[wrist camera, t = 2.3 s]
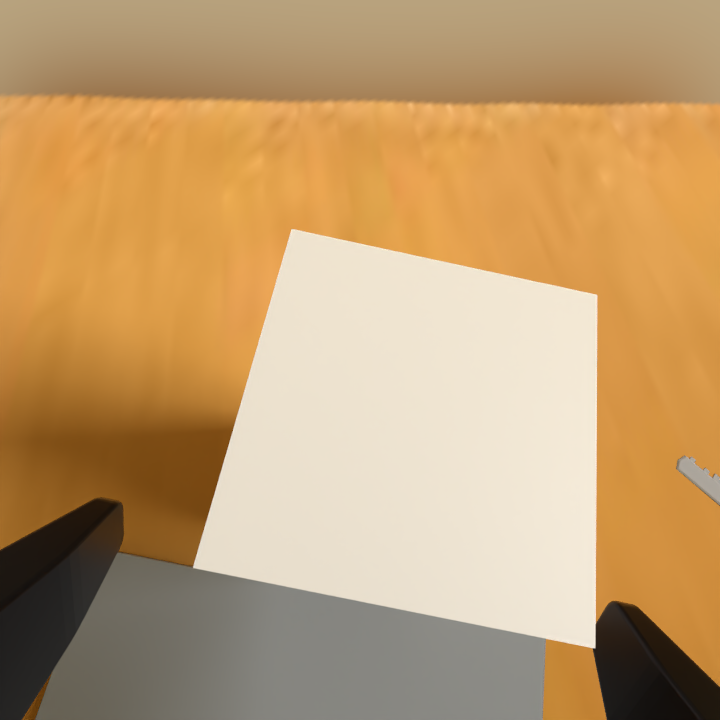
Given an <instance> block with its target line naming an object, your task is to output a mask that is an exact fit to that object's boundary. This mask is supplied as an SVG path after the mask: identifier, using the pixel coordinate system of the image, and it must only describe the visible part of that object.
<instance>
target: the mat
mask: <svg viewBox="0 0 720 720" xmlns="http://www.w3.org/2000/svg"><path fill="white" fill-rule="evenodd" d="M545 643H546V639H545V638H540V637H535V636H530V635H525V634H520V633H515V632H510V631H505V630H500V629H495V628H490V627H485V626H480V625H475V624H470V623H465V622H460V621H455V620H450V619H445V618H440V617H435V616H430V615H425V614H420V613H415V612H410V611H405V610H400V609H395V608H390V607H385V606H380V605H375V604H370V603H365V602H360V601H356V600H351V599H346V598H341V597H336V596H331V595H326V594H321V593H316V592H311V591H306V590H301V589H296V588H291V587H286V586H281V585H276V584H271V583H266V582H261V581H256V580H251V579H246V578H241V577H236V576H231V575H226V574H221V573H216V572H211V571H206V570H201V569H196V568H193V567H192V566H187V565H182V564H177V563H172V562H167V561H162V560H157V559H152V558H147V557H142V556H137V555H132V554H127V553H122V552H118V553H117V555H116V557H115V559H114V561H113V563H112V565H111V567H110V569H109V571H108V573H107V575H106V577H105V579H104V580H103V582H102V584H101V586H100V588H99V590H98V592H97V594H96V596H95V598H94V600H93V602H92V604H91V606H90V608H89V610H88V612H87V614H86V616H85V618H84V620H83V622H82V623H81V625H80V627H79V629H78V631H77V633H76V634H75V636H74V638H73V639H72V641H71V643H70V644H69V646H68V648H67V649H66V651H65V652H64V654H63V656H62V657H61V659H60V660H59V662H58V663H57V665H56V667H55V668H54V670H53V672H52V675H51V677H50V680H49V683H48V686H47V688H46V691H45V694H44V697H43V699H42V702H41V705H40V707H39V710H38V713H37V716H36V718H35V720H543V695H544V669H545Z"/></svg>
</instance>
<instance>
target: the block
mask: <svg viewBox="0 0 720 720" xmlns="http://www.w3.org/2000/svg"><path fill="white" fill-rule="evenodd" d="M596 442H597V295H595V294H591V293H586V292H581V291H577V290H572V289H567V288H563V287H558V286H554V285H549V284H544V283H540V282H535V281H530V280H526V279H521V278H517V277H512V276H507V275H503V274H498V273H493V272H489V271H484V270H480V269H475V268H470V267H466V266H461V265H456V264H452V263H447V262H442V261H438V260H433V259H429V258H424V257H419V256H415V255H410V254H405V253H401V252H396V251H392V250H387V249H382V248H378V247H373V246H368V245H364V244H359V243H355V242H350V241H345V240H341V239H336V238H331V237H327V236H322V235H317V234H313V233H308V232H304V231H299V230H294V229H292V230H291V233H290V236H289V240H288V243H287V247H286V250H285V254H284V257H283V260H282V264H281V267H280V271H279V274H278V278H277V281H276V284H275V288H274V291H273V295H272V298H271V302H270V305H269V308H268V312H267V315H266V319H265V322H264V326H263V329H262V332H261V336H260V339H259V343H258V346H257V350H256V353H255V356H254V360H253V363H252V367H251V370H250V374H249V377H248V380H247V384H246V387H245V391H244V394H243V398H242V401H241V404H240V408H239V411H238V415H237V418H236V422H235V425H234V428H233V432H232V435H231V439H230V442H229V446H228V449H227V452H226V456H225V459H224V463H223V466H222V470H221V473H220V476H219V480H218V483H217V487H216V490H215V494H214V497H213V500H212V504H211V507H210V511H209V514H208V518H207V521H206V524H205V528H204V531H203V535H202V538H201V542H200V545H199V548H198V552H197V555H196V559H195V562H194V566H193V568H196V569H201V570H206V571H211V572H216V573H221V574H226V575H231V576H236V577H241V578H246V579H251V580H256V581H261V582H266V583H271V584H276V585H281V586H286V587H291V588H296V589H301V590H306V591H311V592H316V593H321V594H326V595H331V596H336V597H341V598H346V599H351V600H356V601H360V602H365V603H370V604H375V605H380V606H385V607H390V608H395V609H400V610H405V611H410V612H415V613H420V614H425V615H430V616H435V617H440V618H445V619H450V620H455V621H460V622H465V623H470V624H475V625H480V626H485V627H490V628H495V629H500V630H505V631H510V632H515V633H520V634H525V635H530V636H535V637H540V638H545V639H550V640H555V641H560V642H565V643H570V644H575V645H580V646H585V647H590V648H595V635H596Z"/></svg>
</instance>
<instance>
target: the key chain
mask: <svg viewBox="0 0 720 720" xmlns="http://www.w3.org/2000/svg"><path fill="white" fill-rule="evenodd" d="M695 461H696V460H695V459H694V458H693V457H691V458H690V459H689V458H687V457H686V456H683V457H682V458H680V459H678V462H677V467H676V469H677V470H678V471H679V472H681V473H682V474H683V475H684V476H685V477H687V478H688V479H689V480H690V481H691V482H692V483H694V484H695V485H696V486H697V487H698V488H700V489H701V490H702V491H703V492H704V493H705V494H707V495H708V496H709V497H710V498H711V499H713V500H714V501H715V502H716V503H717V504H718V505H720V480H719V479H720V477H719V476H717V475H716V474H715V475H714V476H713V478H712V477H710V476H709V475H708V474H709V472H710V471H708V470H707V469H706V468H704V470H702V469H701V468H700V467H698V466H697V465H696V464H695Z"/></svg>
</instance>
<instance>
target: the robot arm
mask: <svg viewBox="0 0 720 720" xmlns="http://www.w3.org/2000/svg"><path fill="white" fill-rule="evenodd" d="M123 535H124V528H123V505H122V503H121V502H120V501H117V500H112V499H107V498H102V497H100V498H96V499H93V500H91V501H90V502H88V503H86V504H84V505H82V506H80V507H78V508H77V509H75V510H73V511H71V512H69V513H67V514H66V515H64V516H62V517H60V518H58V519H56V520H54V521H53V522H51V523H49V524H47V525H45V526H43V527H42V528H40V529H38V530H36V531H34V532H32V533H31V534H29V535H27V536H25V537H23V538H21V539H19V540H18V541H16V542H14V543H12V544H10V545H8V546H7V547H5V548H3V549H1V550H0V720H22V718H23V717H24V715H25V714H26V712H27V710H28V709H29V707H30V706H31V704H32V703H33V701H34V699H35V698H36V696H37V695H38V693H39V692H40V690H41V689H42V687H43V685H44V684H45V682H46V681H47V679H48V678H49V676H50V674H51V673H52V671H53V670H54V668H55V667H56V665H57V663H58V662H59V660H60V659H61V657H62V656H63V654H64V652H65V651H66V649H67V648H68V646H69V644H70V643H71V641H72V639H73V638H74V636H75V634H76V633H77V631H78V629H79V627H80V625H81V623H82V622H83V620H84V618H85V616H86V614H87V612H88V610H89V608H90V606H91V604H92V602H93V600H94V598H95V596H96V594H97V592H98V590H99V588H100V586H101V584H102V582H103V580H104V579H105V577H106V575H107V573H108V571H109V569H110V567H111V565H112V563H113V561H114V559H115V557H116V555H117V553H118V551H119V549H120V547H121V544H122V541H123ZM593 652H594V657H595V662H596V667H597V672H598V677H599V682H600V687H601V692H602V697H603V702H604V707H605V712H606V717H607V720H720V687H719V686H718V685H717V684H716V683H715V682H714V681H713V680H712V679H711V678H710V677H709V676H708V675H707V674H706V673H705V672H704V671H703V670H702V669H701V668H700V667H699V666H698V665H697V664H696V663H695V662H694V661H693V660H691V659H690V658H689V657H688V656H687V655H686V654H685V653H684V652H683V651H682V650H681V649H680V648H679V647H678V646H677V645H676V644H675V643H674V642H673V641H672V640H671V639H670V638H669V637H668V636H667V635H666V634H665V633H664V632H663V631H662V630H661V629H660V628H659V627H658V626H657V625H656V624H655V623H654V622H653V621H652V620H651V619H650V618H649V617H648V616H647V615H646V614H644V613H643V612H642V611H641V610H640V609H639V608H638V607H637V606H635V605H633V604H628V603H624V602H619V601H612V602H610V603H609V604H608V605H607V606H606V608H605V610H604V611H603V613H602V614H601V616H600V618H599V619H598V621H597V623H596V635H595V648H593Z"/></svg>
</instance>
